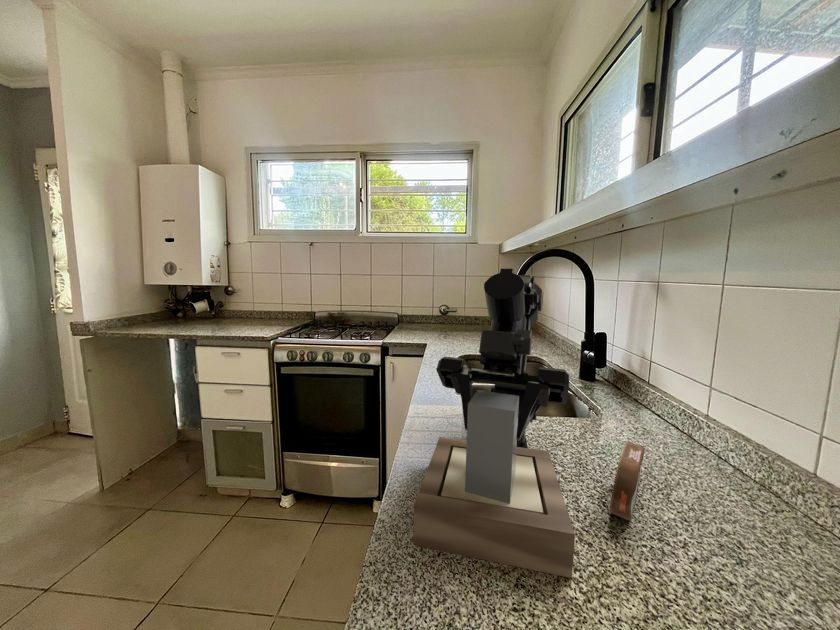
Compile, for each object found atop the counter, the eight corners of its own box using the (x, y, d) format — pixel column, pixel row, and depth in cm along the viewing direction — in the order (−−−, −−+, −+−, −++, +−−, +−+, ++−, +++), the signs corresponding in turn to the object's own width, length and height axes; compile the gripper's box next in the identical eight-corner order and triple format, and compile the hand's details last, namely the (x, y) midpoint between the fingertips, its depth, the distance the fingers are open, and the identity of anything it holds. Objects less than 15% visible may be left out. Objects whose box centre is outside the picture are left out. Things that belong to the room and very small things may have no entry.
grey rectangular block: (474, 468, 50) (477, 389, 48) (515, 478, 47) (519, 395, 46) (464, 491, 44) (467, 403, 43) (509, 503, 42) (514, 411, 40)
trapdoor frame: (438, 465, 60) (439, 437, 59) (546, 481, 56) (548, 450, 55) (413, 545, 41) (414, 505, 41) (571, 578, 37) (575, 534, 37)
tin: (622, 477, 57) (625, 431, 57) (643, 484, 55) (647, 437, 55) (606, 524, 46) (610, 468, 45) (632, 536, 44) (637, 477, 43)
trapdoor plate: (453, 452, 56) (453, 446, 56) (531, 463, 53) (532, 457, 53) (440, 502, 43) (441, 494, 43) (542, 520, 40) (543, 511, 40)
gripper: (441, 306, 50) (412, 396, 41) (572, 312, 43) (572, 422, 34) (454, 346, 58) (432, 430, 49) (566, 357, 51) (565, 456, 42)
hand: (491, 434), depth 44 cm, fingers open, 7 cm apart
